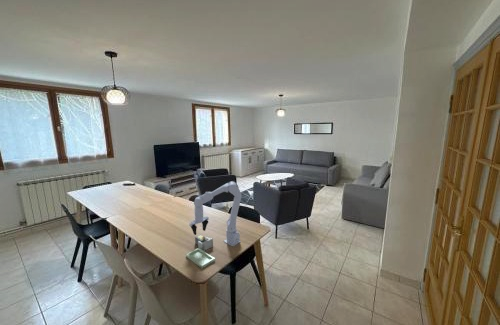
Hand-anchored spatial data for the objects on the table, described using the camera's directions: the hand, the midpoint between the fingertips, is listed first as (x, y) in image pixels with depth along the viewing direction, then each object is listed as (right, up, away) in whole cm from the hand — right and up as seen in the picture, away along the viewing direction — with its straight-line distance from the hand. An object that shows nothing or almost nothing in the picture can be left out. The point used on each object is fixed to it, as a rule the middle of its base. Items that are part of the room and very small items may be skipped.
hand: (199, 232), depth 141 cm
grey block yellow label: (+2, -9, 0) cm, 9 cm away
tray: (+4, -11, -16) cm, 20 cm away
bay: (+5, -9, -3) cm, 11 cm away
